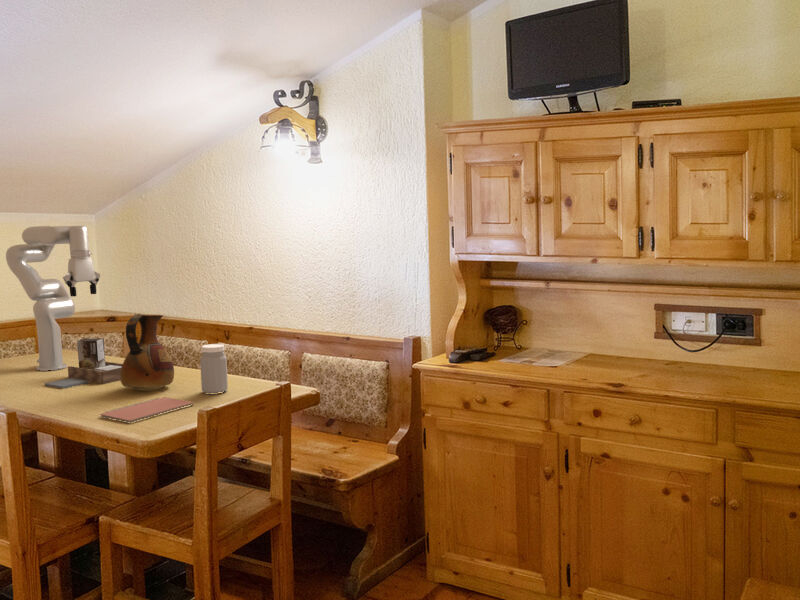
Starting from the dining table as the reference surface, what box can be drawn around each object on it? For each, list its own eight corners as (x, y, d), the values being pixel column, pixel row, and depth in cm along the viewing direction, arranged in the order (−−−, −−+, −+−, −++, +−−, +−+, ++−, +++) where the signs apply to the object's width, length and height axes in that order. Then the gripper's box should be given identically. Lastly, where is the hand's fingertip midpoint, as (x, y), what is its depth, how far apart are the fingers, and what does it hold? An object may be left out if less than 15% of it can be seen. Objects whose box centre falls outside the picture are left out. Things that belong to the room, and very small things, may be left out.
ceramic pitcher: (185, 385, 301) (181, 310, 297) (152, 396, 282) (148, 317, 278) (144, 382, 307) (140, 309, 304) (110, 393, 288) (105, 316, 285)
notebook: (162, 401, 277) (162, 395, 277) (194, 406, 268) (194, 401, 268) (98, 418, 254) (97, 412, 254) (130, 425, 245) (129, 419, 245)
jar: (211, 396, 281) (209, 348, 279) (196, 392, 287) (194, 346, 285) (233, 391, 288) (231, 345, 286) (217, 387, 295) (215, 342, 293)
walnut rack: (68, 378, 317) (67, 366, 316) (99, 371, 330) (98, 360, 329) (103, 384, 305) (102, 371, 304) (134, 376, 318) (133, 365, 317)
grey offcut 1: (95, 380, 313) (94, 368, 313) (111, 376, 320) (110, 365, 319) (101, 381, 311) (100, 369, 311) (117, 377, 318) (117, 365, 317)
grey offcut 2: (102, 381, 311) (101, 369, 310) (118, 377, 318) (117, 365, 317) (108, 382, 309) (107, 370, 308) (124, 378, 316) (124, 366, 315)
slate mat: (44, 385, 304) (44, 383, 303) (71, 379, 314) (71, 377, 314) (62, 389, 297) (62, 386, 297) (89, 382, 307) (89, 380, 307)
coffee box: (106, 374, 323) (104, 337, 321) (99, 378, 317) (97, 340, 315) (86, 374, 324) (84, 337, 322) (78, 378, 318) (76, 340, 316)
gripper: (92, 254, 328) (95, 293, 329) (56, 256, 313) (59, 297, 315) (103, 253, 324) (106, 293, 325) (67, 255, 309) (71, 297, 311)
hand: (83, 295), depth 320 cm, fingers open, 9 cm apart
